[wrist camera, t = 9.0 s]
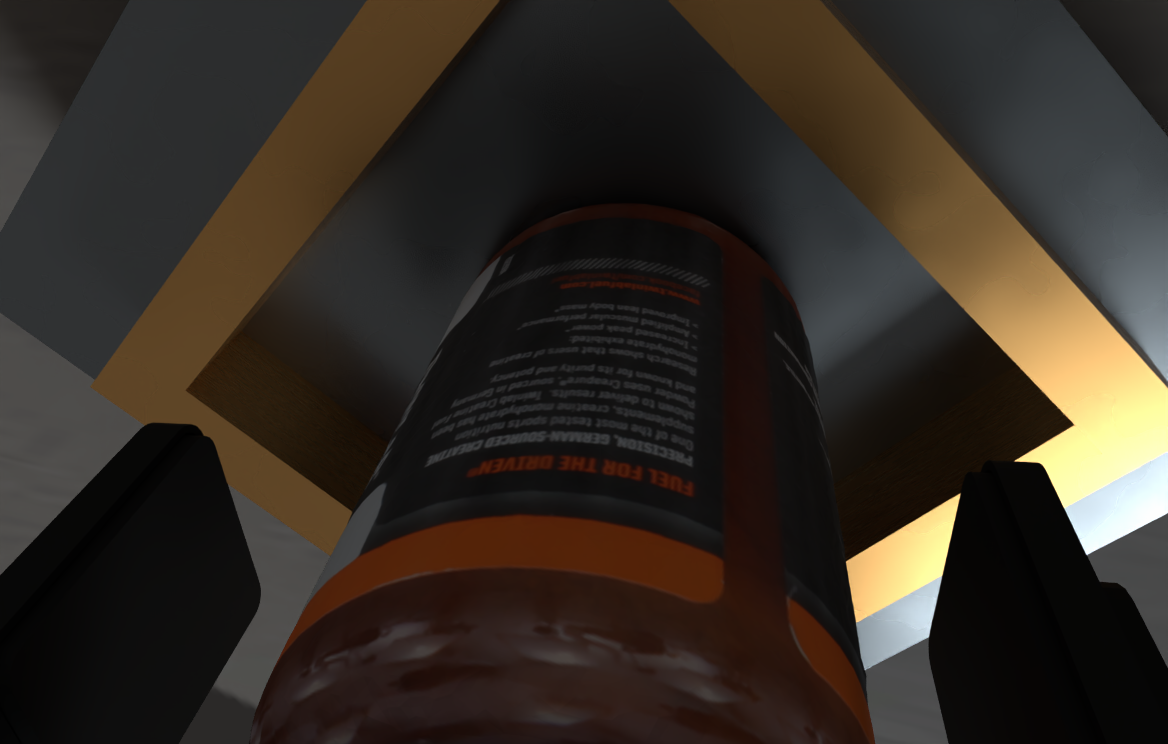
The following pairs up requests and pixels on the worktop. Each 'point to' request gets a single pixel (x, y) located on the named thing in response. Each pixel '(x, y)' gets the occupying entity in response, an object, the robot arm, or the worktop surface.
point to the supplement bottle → (593, 517)
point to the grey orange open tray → (622, 175)
